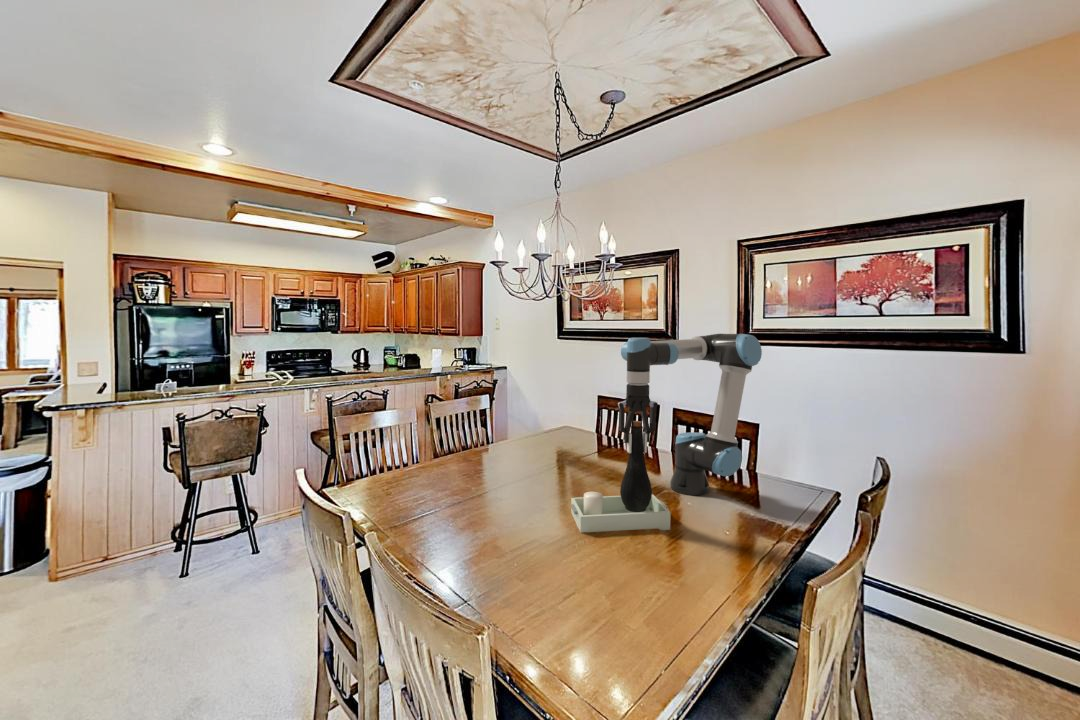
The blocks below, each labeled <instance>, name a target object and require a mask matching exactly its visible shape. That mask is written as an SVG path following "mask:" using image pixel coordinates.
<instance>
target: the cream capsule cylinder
mask: <svg viewBox="0 0 1080 720" xmlns="http://www.w3.org/2000/svg"><path fill="white" fill-rule="evenodd" d="M603 496H604V495H603V494H602V493H601V492H599V491H598V492H597V491H586V492H584V493H583V497H584V515H600V514H603Z"/></svg>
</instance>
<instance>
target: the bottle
mask: <svg viewBox="0 0 1080 720" xmlns="http://www.w3.org/2000/svg"><path fill="white" fill-rule="evenodd" d="M643 430H644V426H643V421H642V420H641V421H639V420H633V421H632V425H631V432H630V433H631V434H632V444H631V453H628V458H627V464H626V468H625V472H624V474H623V477H622V480H621V483H620V488H619V489H620V490H619V491H620V492H619V493H620V496H621V499H622V502H623V504H624V505H625V508H626V509H627V510H628V511H631V512H644V511H645V510H646V508H647V506H648V505H649V503H650V500H651V496H652V494H653V490H652V483H651V481H650V480H651V479H650V477H649V474H648V471H647V465H646V459H645V458H646V457H645V453H644V448H643V432H644V431H643Z"/></svg>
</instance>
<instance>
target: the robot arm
mask: <svg viewBox="0 0 1080 720" xmlns="http://www.w3.org/2000/svg"><path fill="white" fill-rule="evenodd" d="M762 352H763V350H762V346H761V344H760V341H759V339H757V337H756V336H755V335H751V334H746V333H714V334H713V333H712V334H708V335H699V336H698V335H697V336H694V337H692V338H690V339H670V340H669V339H667V340H651V339H650V338H649V337H630V338H628V340H627V341H626V342H624V343H623V344H622V345H621V348H620V356H621V358H622V359H623V360H624V361H626V383H627V384H626V391H625V392H626V393H625V394H626V397H625V398H624V400H623V401H617V403H616V404H617V407H618V430H619V432H621V433H623V435H624V436H623V438H624V439H623V441H624V443H625V444H626V452H627V453H628V454H629V453H631V444H632V434H631V432H630V431H631V430H632V428H631V426H633V421H634V416H635V414H636V413H637V412H639V413H640V415H641V422H642V426H643V430H644V431H643V448H644V454H647V452H648V443H650V440H651V433H652V432H655V431H656V429H657V428H656V426H657V425H656V424H657V423H656V421H657V419H656V418H657V408H658V405H659V404H658V402H656V401H655V400H653V401H652V400H651V398H650V385H649V383H650V379H651V378H650V377H651V376H650V373H651V370H650V368H651V366H664V365H665V366H668V365H673V364H675V363H676V362H677V361H678V360H685V359H693V360H695V361H709V362H714V363H718V367H719V369H721V376H720V381H719V385H718V390H717V397H716V402H715V408H714V414H713V419H712V423H711V427H710V428H711V429H710V431H709V432H708V433H707V434H706V433H704V432H696V431H695V432H690V431H689V432H681V433H679V434H677V435H676V437H675V444H674V445H675V446H674V448H675V449H674V452H675V453H674V454H675V455H674V456H675V457H674V460H675V461H674V462H675V463H674V471H673V474H672V476H671V480H670V483H669V484H670V486H669V487H670V489H671V490H672V491H674V492H676V493H679V494H683V495H689V496H701V495H702V496H703V495H706V494H708V493H709V491H710V484H709V481H708V477H707V475H706V471H707V472H711V473H712V474H714V475H718V476H722V477H731V476H732V475H734V474H735V473H736V472H737V471H738V470H739V469H740V467H741V465H742V462H743V453H742V450H741V449H740V448H739V447H738V444H739V441H738V440H737V438H736V430H737V427H738V420H739V415H740V409H741V404H742V401H743V400H742V399H743V394H744V388H745V382H746V376H747V375H748V374H750V373H751V372H752V369H753V367H754V366H756V365H758V364H759V362H760V361H761V358H762V354H763V353H762ZM626 406H627V407H628V411H627V412H628V413H627V416H626V415H625V413H626V412H625V411H626V410H625V408H626ZM648 406H649V419H648V412H647V407H648ZM625 417H626V418H625ZM625 419H626V420H625Z"/></svg>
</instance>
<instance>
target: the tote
mask: <svg viewBox="0 0 1080 720" xmlns="http://www.w3.org/2000/svg"><path fill="white" fill-rule="evenodd" d="M570 499H571V500H570V502H571V503H570V509H571V510H570V513H571V515H572V517H573V519H574V522H575V524H576V526H577V528H578V531H579V532H580V533H581V534H582V533H598V532H599V533H601V532H615V531H617V532H618V531H635V530H654V529H655V530H656V529H659V531H671V513H672V512H671V511H670V510H669V509H668V506H667V505H666V504H665V503H664V502H663V501H662V500H661V499H658V498H657V497H656V496H655V495H654V494H653V493H652V496H651V500H650V503H649V505H648V506H647V508H646V510H645V511H644V512H631V511H628V510H627V509H626V508H625V505H624V504H623V502H622V499H621V495H609V496H608V495H605V496H604V495H603V514H600V515H584V496H583V497H582V496H581V497H580V496H579V497H571V498H570Z"/></svg>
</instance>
